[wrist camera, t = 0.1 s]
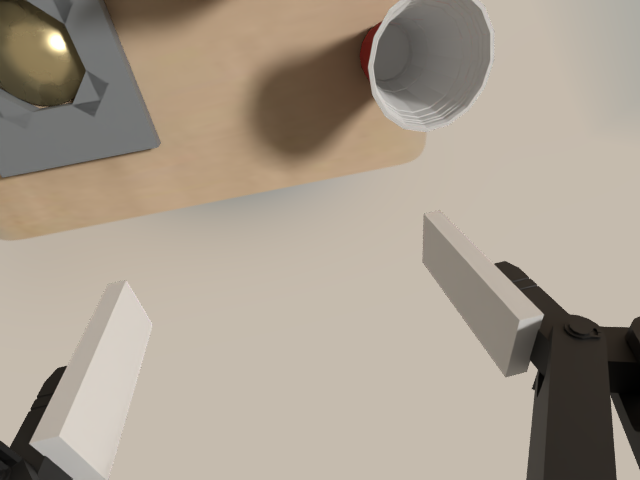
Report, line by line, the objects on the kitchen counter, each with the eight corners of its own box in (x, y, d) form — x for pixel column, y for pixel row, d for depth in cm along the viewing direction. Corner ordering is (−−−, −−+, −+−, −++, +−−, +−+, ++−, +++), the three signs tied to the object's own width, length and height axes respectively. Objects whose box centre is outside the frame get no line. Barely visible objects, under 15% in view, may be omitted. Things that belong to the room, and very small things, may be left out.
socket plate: (-155, -73, 27) (-175, -77, 26) (62, -103, 28) (53, -109, 27) (10, 172, 38) (2, 177, 37) (160, 142, 39) (158, 147, 38)
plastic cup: (439, -13, 36) (514, -22, 26) (425, 99, 42) (482, 127, 32) (335, -10, 35) (373, -18, 25) (336, 106, 41) (366, 137, 31)
